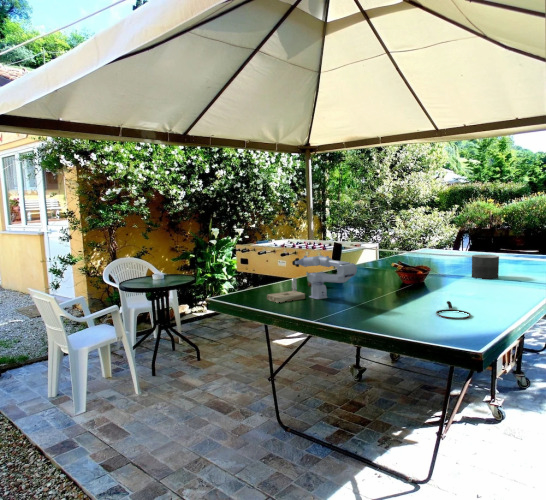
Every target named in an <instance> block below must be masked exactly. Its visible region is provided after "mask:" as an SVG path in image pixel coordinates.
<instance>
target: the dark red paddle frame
mask: <svg viewBox="0 0 546 500" xmlns="http://www.w3.org/2000/svg"><path fill="white" fill-rule="evenodd" d="M446 304H447V306H448V308H447V309H445V308H444V309H439V310H437V311H435V314H436V315H437V316H438V315H439V316H438V317H440V316H441V318H443V317H445V318H444V319H448V318H465V319H467V317H468V318H469V317H471V312H468V311H466V310H461V309H454V308H453V306H452V302H451V301H450V300H449V301H448V300H447V301H446ZM442 311H459V312H464V313H467V314H469V316H468V315H466V316H461V317H459V316H458V317H457V316H456V317H455V316H447V315H442V314H440V313H439V312H441V313H443V312H442ZM459 312H458V313H459ZM437 313H439V314H437Z"/></svg>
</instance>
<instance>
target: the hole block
mask: <svg viewBox="0 0 546 500" xmlns="http://www.w3.org/2000/svg"><path fill="white" fill-rule="evenodd" d="M304 299H306V293H303V292H300V291H298V290H297V291H292V290H289V291H288V290H287V291H282V292H275V293H269V294H266V300H268V301H270V302H273V303H275V302H276V304H279V302H280V303H286V302H285V301H287V302H293V301H298V300H304ZM292 300H293V301H292Z"/></svg>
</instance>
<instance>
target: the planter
mask: <svg viewBox="0 0 546 500" xmlns="http://www.w3.org/2000/svg"><path fill="white" fill-rule="evenodd" d="M499 263H500V256H499V255H496V254H495V255H494V254H473V255H471V278H473V277H476V278H475V279H477V278H482V279H481V280H494V279H493V278H497V279H499V272H500V271H499V269H500V267H499V266H500V264H499Z"/></svg>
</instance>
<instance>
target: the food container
mask: <svg viewBox="0 0 546 500" xmlns="http://www.w3.org/2000/svg"><path fill="white" fill-rule="evenodd" d="M310 273H311V272H308V271H306V273H305V275H306V279H307V286H308V287H310V288H311V283H310V281H309V279H308V276H309V274H310ZM312 273H316V272H315V271H313V272H312Z"/></svg>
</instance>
